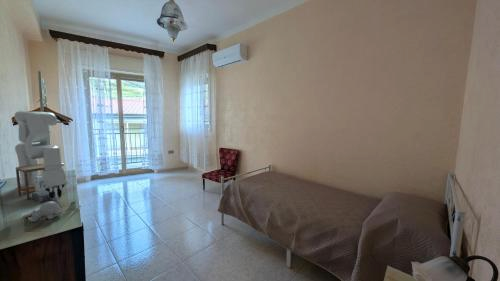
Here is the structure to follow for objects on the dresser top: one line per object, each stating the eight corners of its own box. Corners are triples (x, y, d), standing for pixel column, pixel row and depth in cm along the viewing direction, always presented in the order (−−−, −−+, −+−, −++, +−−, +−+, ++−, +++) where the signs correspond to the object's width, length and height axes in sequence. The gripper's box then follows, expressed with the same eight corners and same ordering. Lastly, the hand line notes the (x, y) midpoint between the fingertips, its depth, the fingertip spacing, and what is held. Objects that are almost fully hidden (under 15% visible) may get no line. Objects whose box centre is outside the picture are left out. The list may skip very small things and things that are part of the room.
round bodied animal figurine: (36, 223, 109) (25, 210, 107) (64, 209, 115) (54, 196, 113) (33, 229, 104) (22, 215, 101) (62, 214, 110) (53, 200, 107)
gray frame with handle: (31, 198, 133) (30, 182, 132) (53, 193, 142) (51, 178, 141) (45, 204, 124) (44, 187, 123) (67, 198, 134) (66, 183, 132)
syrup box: (40, 200, 132) (37, 177, 130) (35, 198, 134) (33, 175, 133) (52, 196, 137) (49, 174, 135) (47, 195, 140) (45, 173, 138)
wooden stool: (18, 195, 138) (15, 167, 136) (46, 189, 151) (44, 163, 149) (27, 199, 132) (24, 170, 130) (56, 192, 144) (53, 165, 142)
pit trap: (16, 191, 145) (16, 189, 145) (36, 187, 154) (36, 185, 154) (22, 194, 140) (22, 192, 140) (42, 189, 149) (42, 187, 149)
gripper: (66, 163, 136) (68, 191, 138) (31, 169, 122) (35, 200, 124) (72, 165, 133) (74, 193, 135) (37, 171, 118) (40, 203, 120)
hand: (55, 196), depth 129 cm, fingers open, 2 cm apart
